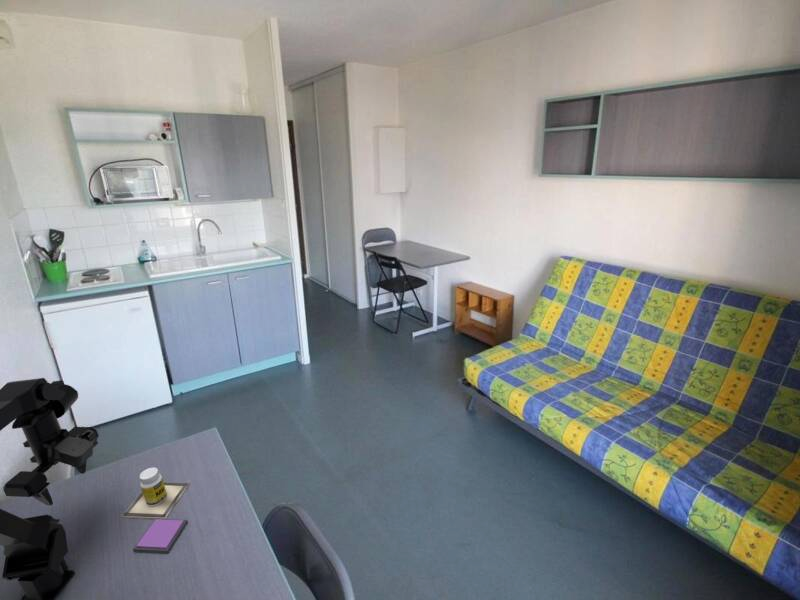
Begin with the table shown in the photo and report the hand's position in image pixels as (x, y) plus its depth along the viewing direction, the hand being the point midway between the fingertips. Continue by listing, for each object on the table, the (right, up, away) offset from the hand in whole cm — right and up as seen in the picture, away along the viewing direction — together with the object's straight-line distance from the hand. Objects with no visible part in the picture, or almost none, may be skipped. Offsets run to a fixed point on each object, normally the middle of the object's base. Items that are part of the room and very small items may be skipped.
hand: (67, 488), depth 96 cm
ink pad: (+21, -12, +1) cm, 24 cm away
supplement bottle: (+14, -8, +11) cm, 20 cm away
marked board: (+14, -8, +11) cm, 20 cm away
